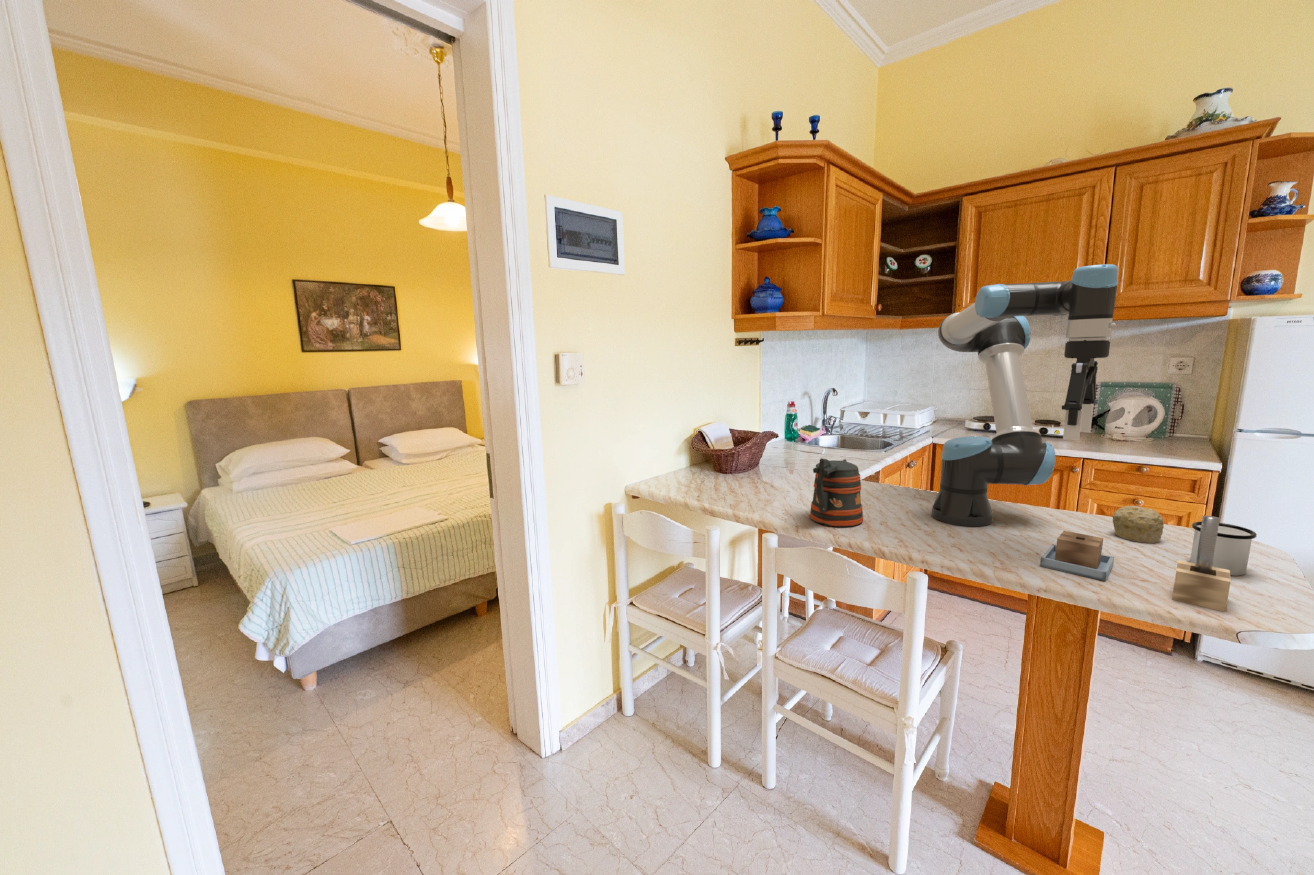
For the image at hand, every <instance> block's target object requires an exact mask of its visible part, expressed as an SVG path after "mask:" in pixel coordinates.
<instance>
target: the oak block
mask: <svg viewBox="0 0 1314 875" xmlns="http://www.w3.org/2000/svg"><path fill="white" fill-rule="evenodd" d="M1194 570H1195V563H1191V562H1190V561H1185V560H1180V559H1178V560H1177V566H1176V569H1175V575H1174V576H1175V577H1174V582H1173V583H1174V584H1173V590H1172V598H1171V600H1174V601H1177V602H1178V601H1179V602H1182V603H1187V604H1190V605H1193V606H1199V607H1204V608H1208V609H1212V610H1216V611H1221V612H1224V613H1225V612H1226V610H1227V604H1228V599H1229V592H1230V587H1231V575H1230V570H1226V569H1221V568H1216V567H1212V571H1211V575H1209V574H1204V573H1199V572H1194Z"/></svg>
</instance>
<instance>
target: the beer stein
mask: <svg viewBox="0 0 1314 875" xmlns="http://www.w3.org/2000/svg"><path fill="white" fill-rule="evenodd" d="M812 472H813V473H814V474H815V476H814V477H815V478H814V482H813V496H812V501H811V503H810V513H809V518H810V519H811V520H812V521H813V522H815V523H818V524H821V525H825V526H831V527H843V528H849V527H853V526H858V525H860V524H862V522H863V521H864V517H863V516H864V515H863V513H864V512H863V509H864V508H863V504H862V499H861V490H862V483H861V473H860V472H859V466H858V465H856V464H855V463H851V462H848V461H847V459H846V458H844V459H843V460H829V459H826V458H820V459H819V462H818V463H817V464H816V465H815V467H813V469H812Z"/></svg>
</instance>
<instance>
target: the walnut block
mask: <svg viewBox="0 0 1314 875" xmlns="http://www.w3.org/2000/svg"><path fill="white" fill-rule="evenodd" d="M1055 545H1056V555H1055V560H1057V561H1062V562H1066V563H1071V564H1075V565H1079V566H1084V567H1088V568H1093V569H1098V567H1099V565H1100V562H1101V554H1102V553H1103V545H1104V538H1103V537H1100V536H1094V535H1089V534H1083V533H1078V532H1073V531H1068V530H1063V531H1062V532H1061V534H1060V535H1059V536H1058V537H1057V539H1056V544H1055ZM1102 555H1103V554H1102Z"/></svg>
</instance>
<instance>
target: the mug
mask: <svg viewBox="0 0 1314 875" xmlns="http://www.w3.org/2000/svg"><path fill="white" fill-rule="evenodd" d="M1201 525H1202V520H1201V521H1195V522H1192V525H1191V528H1193V529H1194V534H1193V539H1192V545H1191V546H1192V547H1191V552H1190V558H1189V562H1191V563H1196V557H1197V550H1198V544H1199V538H1200V531H1201ZM1257 536H1258V534H1257V533H1256V532H1255V531H1253V530H1251V529H1249V528H1246V527H1243V526H1239V525H1235V524H1231V523H1225V522H1219V527H1218V533H1217V540H1216V546H1215V552H1214V558H1213V564H1212V567H1216V568H1221V569H1226V570H1230V576H1233V577H1234V576H1236V577H1237V576H1242V575H1246V574H1247V568H1248V564H1249V559H1250V553H1251V552H1250V551H1251V546H1252V540H1254V539H1256V538H1257Z"/></svg>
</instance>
